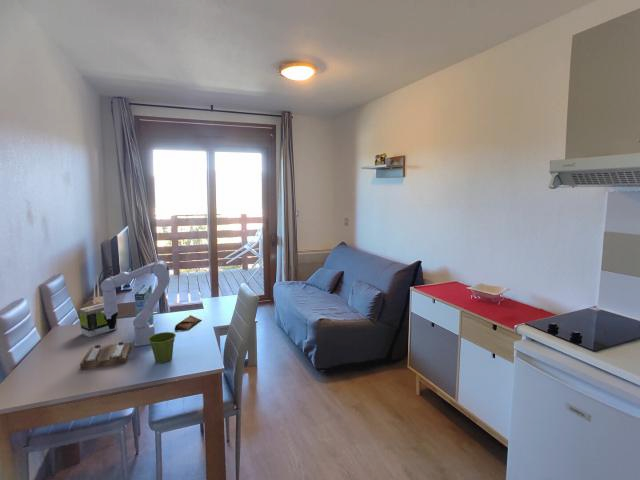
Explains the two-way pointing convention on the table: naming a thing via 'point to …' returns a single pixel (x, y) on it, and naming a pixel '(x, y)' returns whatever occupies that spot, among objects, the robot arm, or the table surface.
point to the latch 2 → (118, 351)
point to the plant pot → (162, 346)
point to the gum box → (143, 300)
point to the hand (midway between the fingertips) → (112, 328)
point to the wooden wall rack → (106, 356)
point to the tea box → (93, 320)
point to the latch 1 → (94, 354)
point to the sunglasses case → (187, 323)
